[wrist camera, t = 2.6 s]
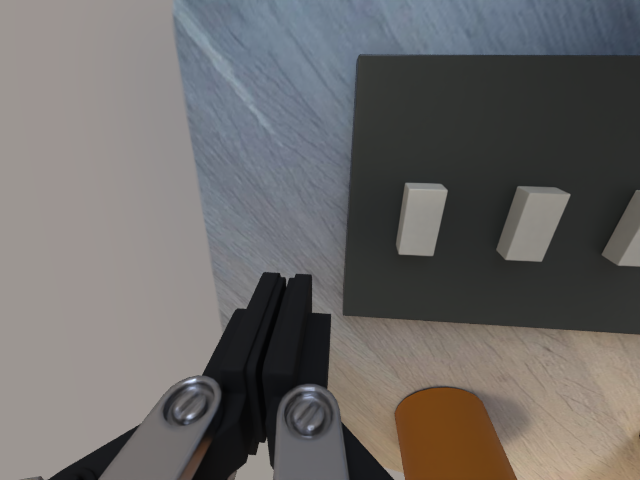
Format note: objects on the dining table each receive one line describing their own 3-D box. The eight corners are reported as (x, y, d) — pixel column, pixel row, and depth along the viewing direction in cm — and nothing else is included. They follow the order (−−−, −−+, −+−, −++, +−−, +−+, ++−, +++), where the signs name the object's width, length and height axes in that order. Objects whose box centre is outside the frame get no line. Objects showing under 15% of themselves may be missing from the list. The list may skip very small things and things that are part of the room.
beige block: (404, 182, 16) (409, 188, 15) (441, 183, 16) (448, 190, 15) (395, 245, 18) (398, 255, 17) (428, 246, 18) (433, 256, 17)
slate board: (356, 59, 16) (358, 54, 13) (993, 62, 14) (1118, 56, 11) (342, 294, 23) (342, 315, 21) (753, 318, 21) (801, 345, 19)
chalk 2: (517, 185, 16) (529, 192, 15) (556, 187, 15) (571, 194, 14) (495, 249, 17) (505, 260, 16) (530, 251, 17) (541, 262, 16)
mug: (370, 442, 32) (378, 557, 24) (417, 376, 27) (446, 497, 19) (444, 461, 33) (475, 580, 25) (505, 400, 27) (570, 528, 19)
